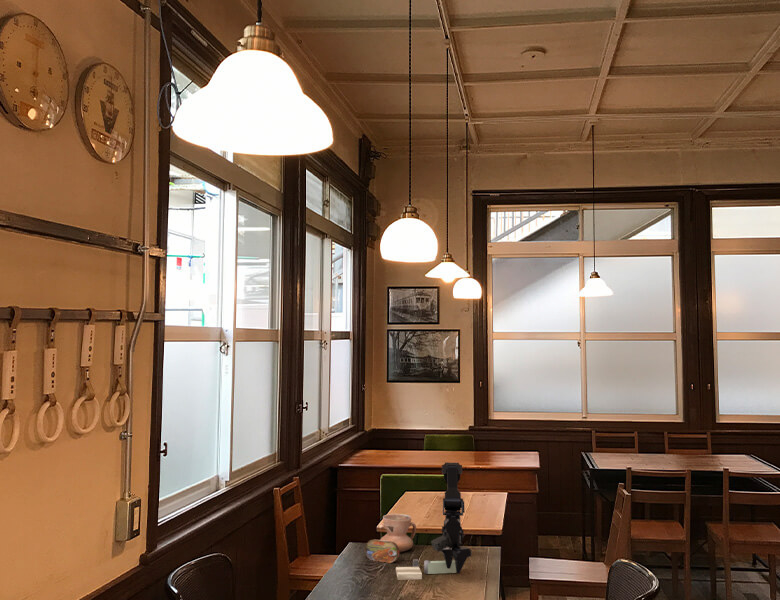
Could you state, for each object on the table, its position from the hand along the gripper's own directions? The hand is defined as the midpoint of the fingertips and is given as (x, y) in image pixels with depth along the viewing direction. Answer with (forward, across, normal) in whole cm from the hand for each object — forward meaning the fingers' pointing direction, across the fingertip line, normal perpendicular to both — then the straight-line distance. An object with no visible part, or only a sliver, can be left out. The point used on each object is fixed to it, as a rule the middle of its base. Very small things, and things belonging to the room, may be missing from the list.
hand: (453, 571), depth 266 cm
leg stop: (+2, -17, -8) cm, 19 cm away
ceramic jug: (+2, -43, -4) cm, 43 cm away
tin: (+2, -30, -17) cm, 35 cm away
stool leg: (+2, -7, -2) cm, 7 cm away
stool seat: (+2, -9, -15) cm, 17 cm away
